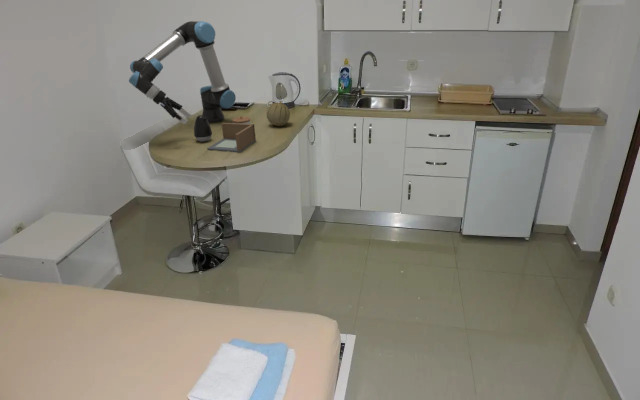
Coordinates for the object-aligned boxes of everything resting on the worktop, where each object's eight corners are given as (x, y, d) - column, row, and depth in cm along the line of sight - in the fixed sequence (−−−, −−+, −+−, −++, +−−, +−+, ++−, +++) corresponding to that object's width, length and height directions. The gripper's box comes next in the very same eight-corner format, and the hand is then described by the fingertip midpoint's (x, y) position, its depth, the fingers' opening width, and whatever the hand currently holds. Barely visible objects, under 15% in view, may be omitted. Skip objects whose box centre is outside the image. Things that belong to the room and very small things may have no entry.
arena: (207, 150, 247) (204, 132, 243) (225, 139, 264) (222, 122, 260) (240, 152, 241) (237, 134, 237) (255, 141, 259) (254, 124, 254)
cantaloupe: (263, 128, 283) (261, 104, 276) (273, 121, 295) (271, 99, 289) (285, 129, 278) (283, 105, 272) (294, 123, 290) (292, 100, 284)
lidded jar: (232, 130, 281) (230, 115, 277) (248, 127, 284) (247, 113, 280) (236, 134, 272) (234, 119, 268) (253, 132, 275) (251, 117, 271)
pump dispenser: (204, 144, 257) (200, 118, 250) (191, 141, 262) (187, 116, 255) (216, 139, 265) (213, 114, 258) (204, 137, 270) (200, 112, 263)
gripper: (156, 95, 260) (187, 118, 268) (147, 105, 238) (180, 130, 246) (164, 85, 259) (194, 109, 267) (155, 94, 236) (188, 120, 244)
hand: (188, 119), depth 256 cm, fingers open, 13 cm apart
